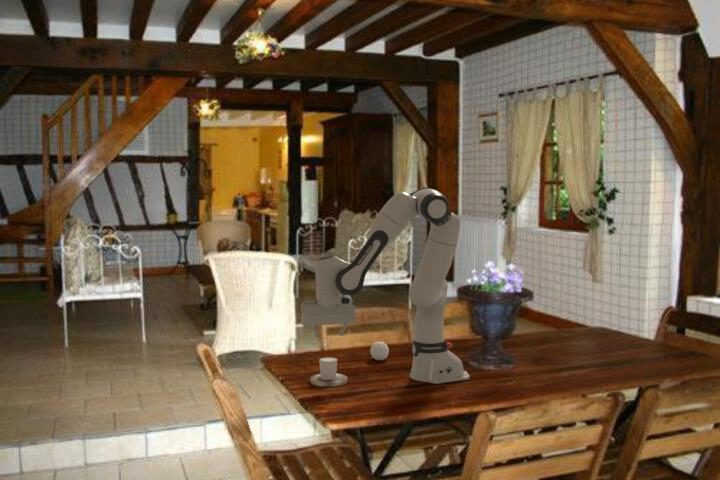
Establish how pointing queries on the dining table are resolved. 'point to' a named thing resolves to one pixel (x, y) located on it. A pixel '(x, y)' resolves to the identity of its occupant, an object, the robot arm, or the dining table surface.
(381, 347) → the geometric ball
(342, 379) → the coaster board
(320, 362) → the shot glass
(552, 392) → the dining table surface
